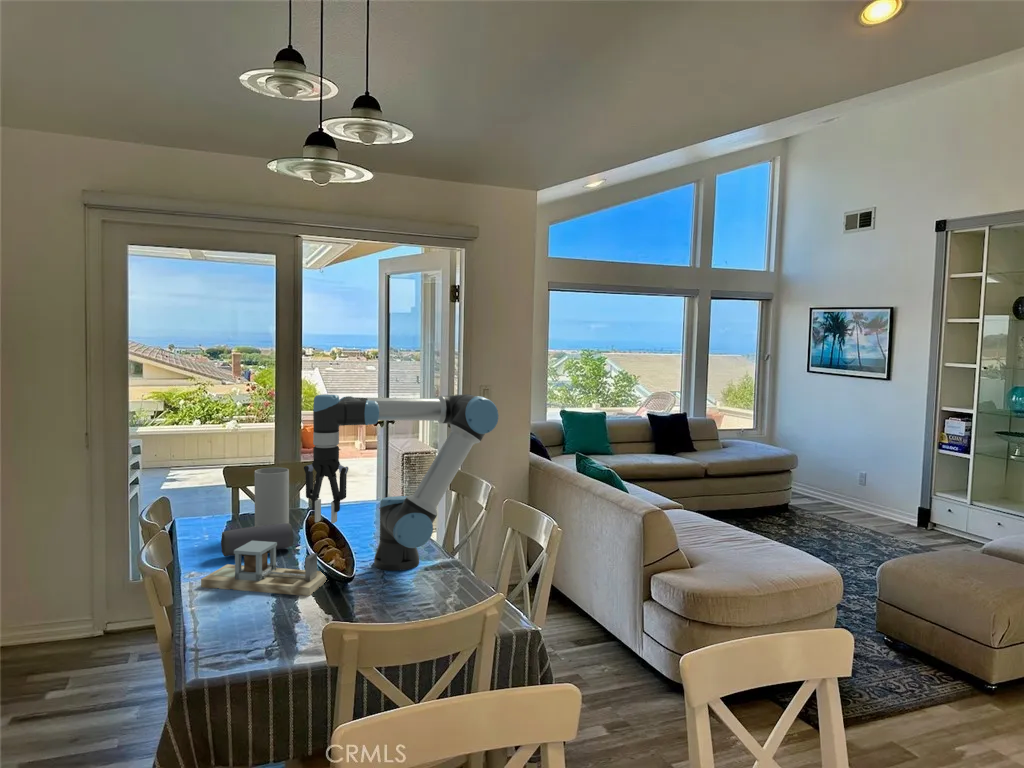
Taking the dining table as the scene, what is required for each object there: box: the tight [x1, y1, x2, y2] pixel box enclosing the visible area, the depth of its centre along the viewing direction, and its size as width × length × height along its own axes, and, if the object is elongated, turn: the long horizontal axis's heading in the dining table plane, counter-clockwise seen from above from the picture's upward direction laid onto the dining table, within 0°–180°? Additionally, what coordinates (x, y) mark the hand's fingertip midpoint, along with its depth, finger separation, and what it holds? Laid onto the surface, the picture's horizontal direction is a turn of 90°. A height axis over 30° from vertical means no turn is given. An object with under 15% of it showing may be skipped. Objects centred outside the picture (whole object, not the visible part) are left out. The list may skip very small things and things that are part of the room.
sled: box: [241, 552, 318, 581], centre depth 208 cm, size 24×6×7 cm, turn 81°
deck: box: [200, 563, 327, 597], centre depth 209 cm, size 35×14×3 cm, turn 81°
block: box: [243, 552, 269, 573], centre depth 209 cm, size 5×5×6 cm
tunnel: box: [234, 541, 277, 581], centre depth 209 cm, size 9×10×9 cm
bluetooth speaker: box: [220, 522, 295, 558], centre depth 237 cm, size 23×9×10 cm, turn 123°
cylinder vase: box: [254, 467, 290, 526], centre depth 260 cm, size 12×12×25 cm
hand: (326, 521), depth 205 cm, fingers open, 4 cm apart
